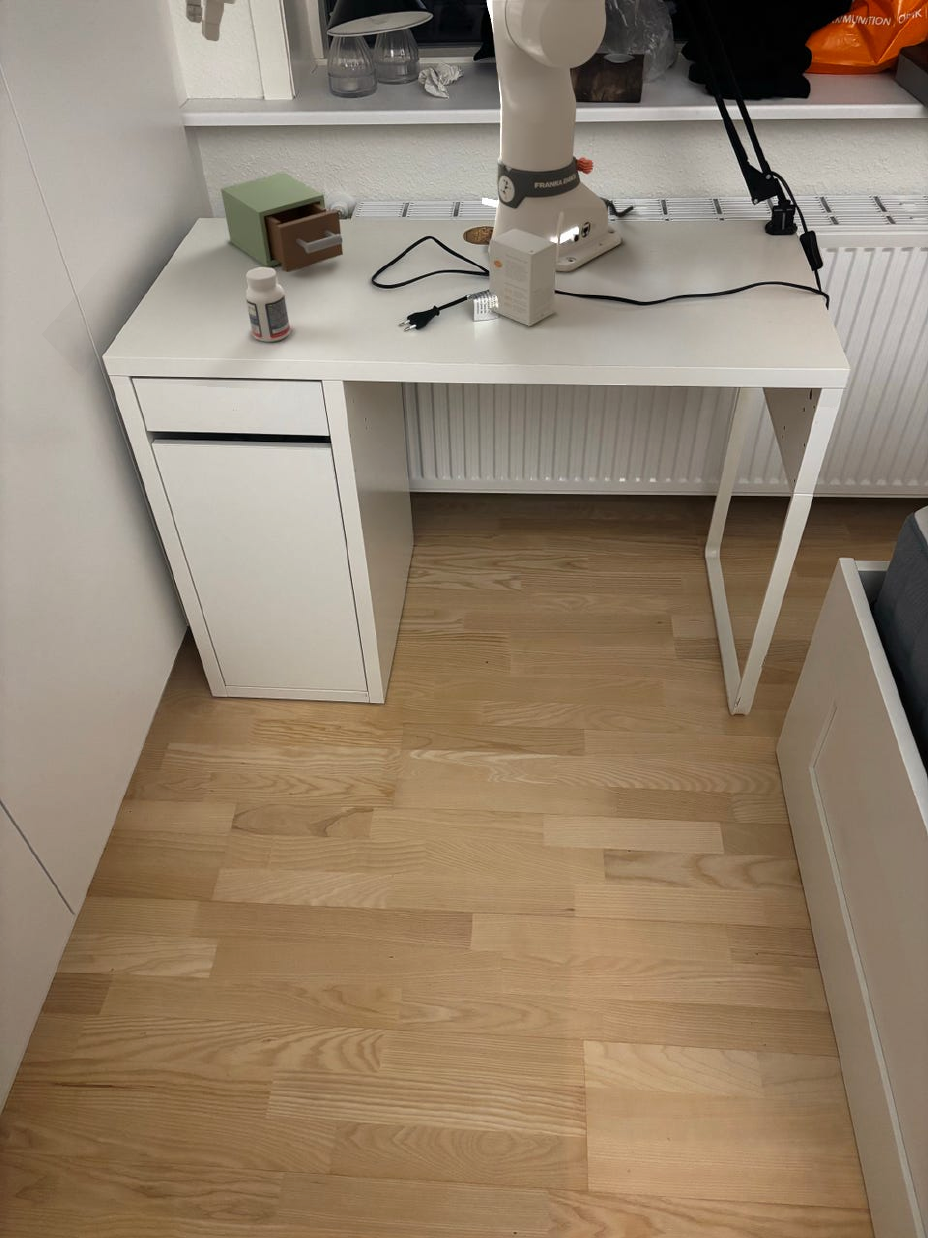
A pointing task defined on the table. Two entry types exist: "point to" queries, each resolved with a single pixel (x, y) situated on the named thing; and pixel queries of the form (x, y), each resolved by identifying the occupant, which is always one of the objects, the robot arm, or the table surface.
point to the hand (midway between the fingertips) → (201, 29)
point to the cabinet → (262, 210)
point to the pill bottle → (266, 305)
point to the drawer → (303, 235)
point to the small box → (523, 275)
